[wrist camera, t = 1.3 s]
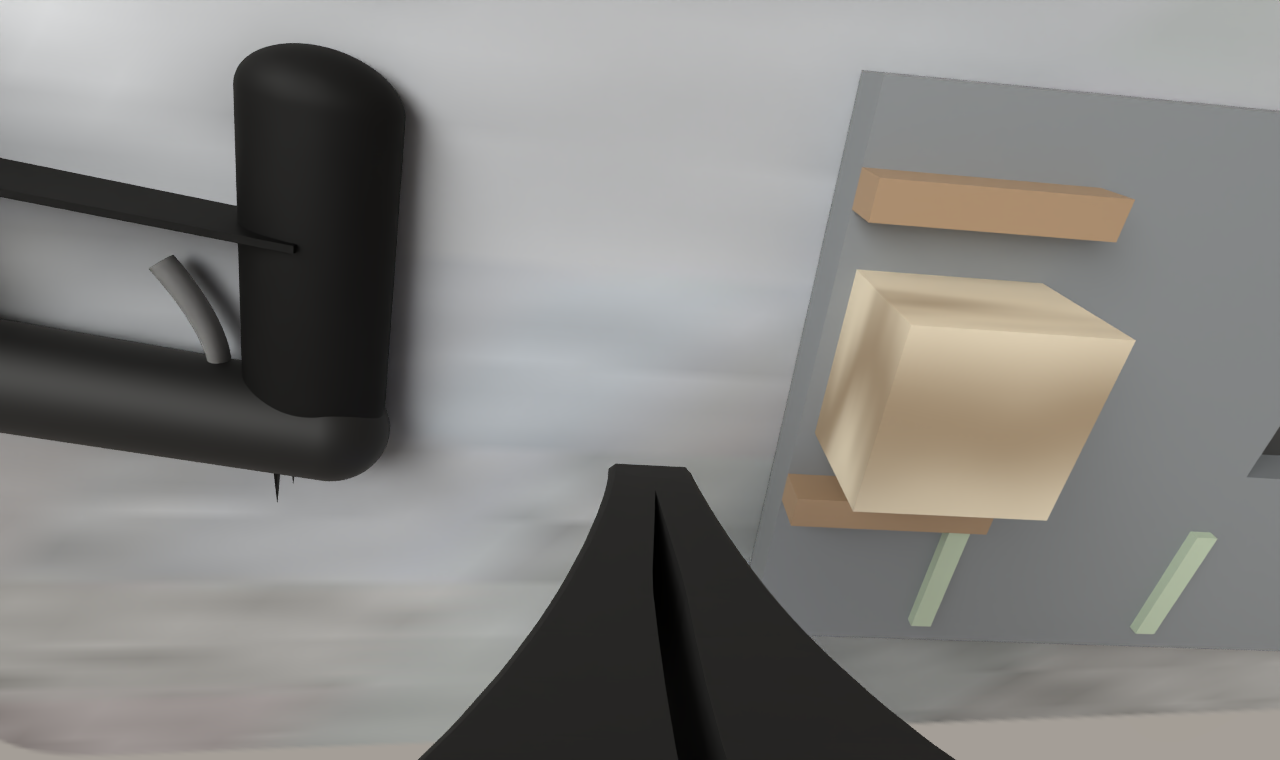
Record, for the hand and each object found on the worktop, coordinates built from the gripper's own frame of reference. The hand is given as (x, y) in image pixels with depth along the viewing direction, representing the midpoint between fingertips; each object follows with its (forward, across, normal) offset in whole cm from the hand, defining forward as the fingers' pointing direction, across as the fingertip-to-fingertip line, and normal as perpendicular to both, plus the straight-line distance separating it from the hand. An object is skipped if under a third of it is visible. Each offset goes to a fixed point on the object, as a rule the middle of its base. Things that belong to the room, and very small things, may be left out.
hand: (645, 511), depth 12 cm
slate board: (+8, -16, +2) cm, 19 cm away
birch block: (+7, -8, 0) cm, 10 cm away
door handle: (+9, +16, -3) cm, 19 cm away
